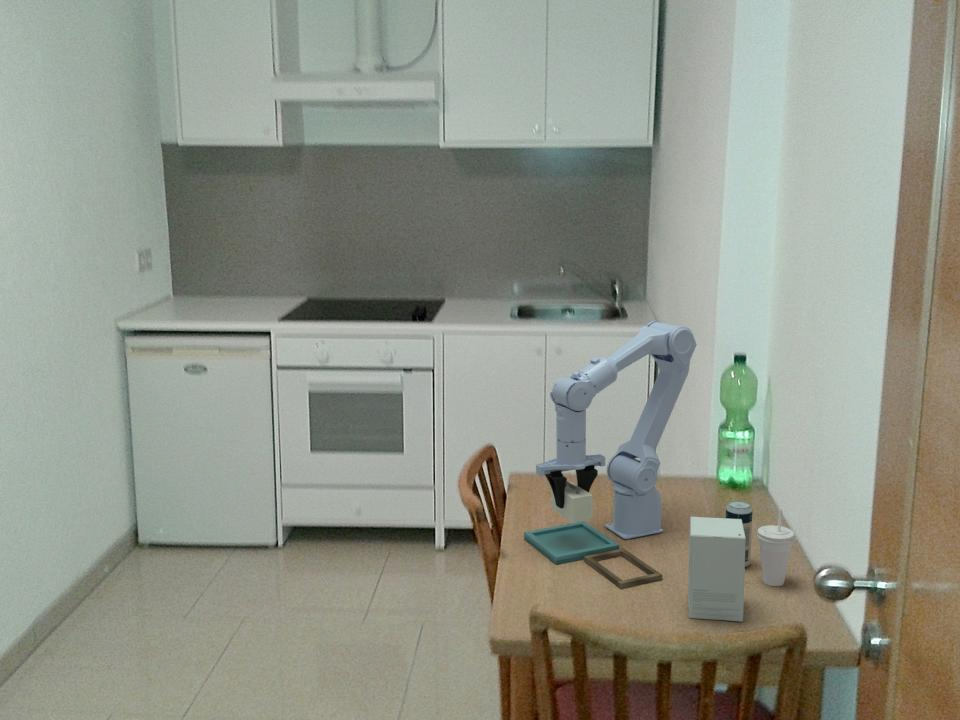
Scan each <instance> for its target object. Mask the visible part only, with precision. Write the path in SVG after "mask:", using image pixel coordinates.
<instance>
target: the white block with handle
mask: <svg viewBox="0 0 960 720" xmlns="http://www.w3.org/2000/svg"><path fill="white" fill-rule="evenodd" d="M550 490H551V491H550V495H551V496H550V498H551V499H550V500H551V501H550V503H551V504H550V507H551V509H552V510H553V511H554V512H556V513H557V514H558V515H561V516H562V517H564V518H565V519H567V521H569V522H570V523H576V522H582V521H585V522H586V521H591V520H593V514H594V509H593V508H594V506H593V505H594V504H593V503H594V500H593V499H594V495H593V494H592V493H590V492H589V493H588V492H587V491H585V490H584V489H582V488H580V487H579V486H578V484H576V483H574V482H572V481H568V480H567V481H566V485H565V492H564V508H559V507H558V506H556V502H555V498H554V494H553V491H552V488H551V487H550Z"/></svg>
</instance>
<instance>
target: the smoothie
mask: <svg viewBox="0 0 960 720" xmlns="http://www.w3.org/2000/svg"><path fill="white" fill-rule="evenodd" d="M777 511H778V514H777V525H772V524H771V525H763V526H760V527H759V528H758V529H757V532H756V533H757V534H756V536H757V538H758V540H759V543H758V544H759V552H760V562H761V563H760V564H761V566H760V567H761V577H762V583H764V584H765V585H767V586H770V587H781V586H784V584H785V580H786V574H787V569H788V563H789V558H790V554H791V549H792V543H793V542H794V540H795V533H794V530H792V529H791V528H788V527H786V526H782V516H783V515H782V514H783V511H782V508H780V507H779V508H778V510H777Z"/></svg>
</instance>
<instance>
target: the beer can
mask: <svg viewBox="0 0 960 720" xmlns="http://www.w3.org/2000/svg"><path fill="white" fill-rule="evenodd" d="M725 518H727V519H742V524H743V528H744V533H745V537H746V544H745V568H746V567H749V566H750V564H751V553H752V552H751V551H752V550H751V549H752V531H753V530H752V529H753V509H752V506H751V504H750V502H747V501H743V500H733V501H730V502H728V504H727V506H726V507H725Z"/></svg>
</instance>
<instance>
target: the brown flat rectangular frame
mask: <svg viewBox="0 0 960 720" xmlns="http://www.w3.org/2000/svg"><path fill="white" fill-rule="evenodd" d="M617 557H623V558H624V559H625V560H627V561H628V562H629V563H632V564H633V566H634V565H635V567H637V568H638V569H640V570H641V571H643V572H644V573H646V574H647V575H642V576H637V577H633V578H628V579H622V578H620V577H619V576H617V575H616V574H615V573H614V572H612V571H611V570H609V569H608V568H607V567H606V566H604V565H602V563H600V562H598V561H602V560H608V559H612V558H617ZM583 562H585V563H586V564H587V565H589V566H590V567H591V568H592V569H593V570H595V571H596V572H598V573H599V574H601V575H602V576H603V577H605V579H608V581H610V582H611V583H612V584H614V585H615V586H617V587H618V588H619V589H627V588H632V587H635V586H641V585H644V584H645V585H646V584H649V583H654V582H658V581H662V580H663V574H662V573H661V572H660V571H658V570H656V569H655V568H653V567H651V566H650V565H649V564H647V563H646V562H645V561H643V560H641V559H640V558H638V557H637V556H635V555H634V554H633V553H632V552H629V550H627V549H625V548H619V549H618V550H613V551H608V552H603V553H598V554H593V555H588V556H584V559H583Z"/></svg>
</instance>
